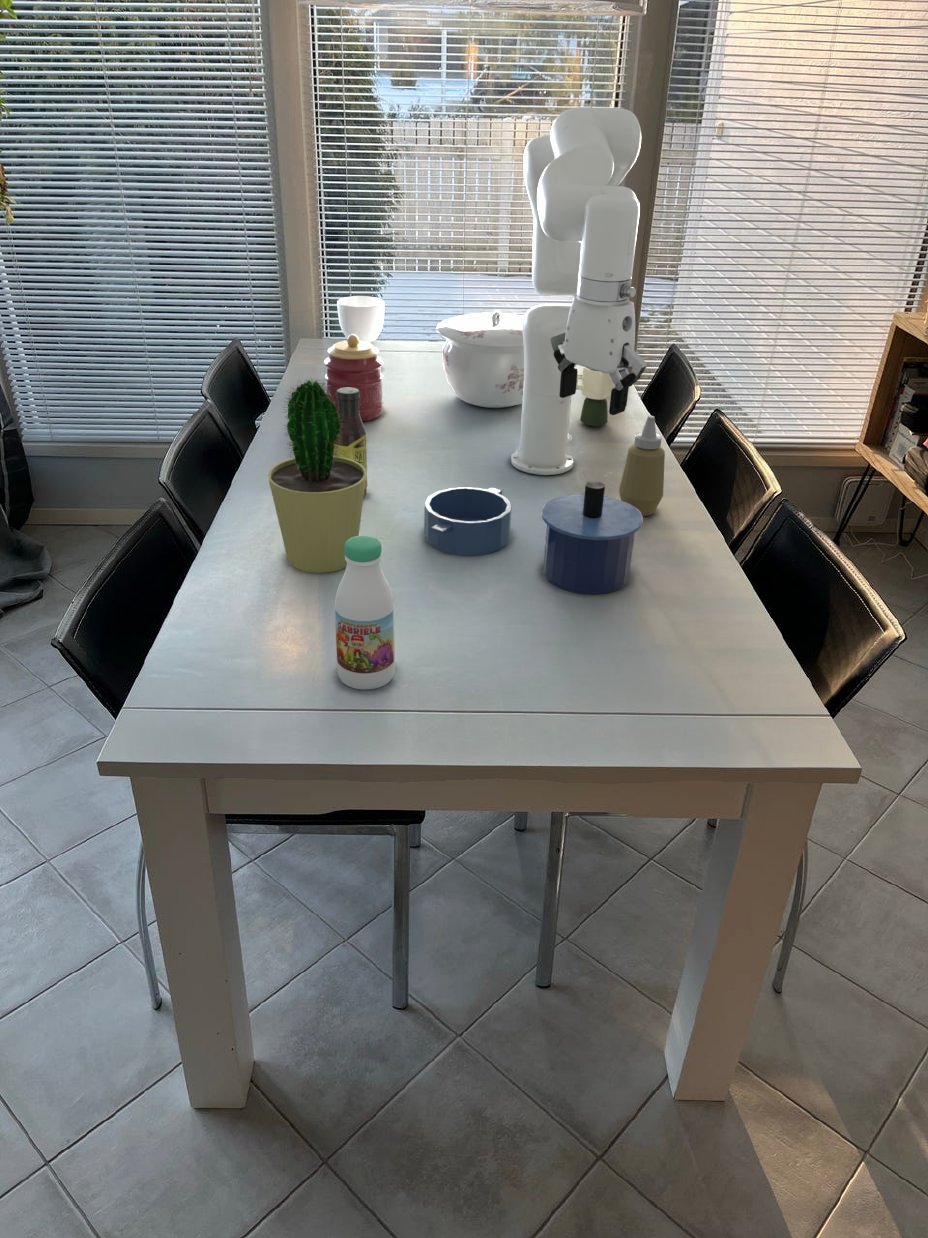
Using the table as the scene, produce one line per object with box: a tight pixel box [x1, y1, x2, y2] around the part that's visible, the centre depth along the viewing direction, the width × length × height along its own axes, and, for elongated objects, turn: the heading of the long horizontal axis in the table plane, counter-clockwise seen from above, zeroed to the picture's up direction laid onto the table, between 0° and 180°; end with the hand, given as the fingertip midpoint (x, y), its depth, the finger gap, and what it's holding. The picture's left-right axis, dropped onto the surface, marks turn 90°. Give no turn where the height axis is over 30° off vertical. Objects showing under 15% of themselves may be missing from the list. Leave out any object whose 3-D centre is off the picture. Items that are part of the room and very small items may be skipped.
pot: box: [542, 524, 636, 595], centre depth 154 cm, size 14×14×10 cm
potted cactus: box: [267, 378, 368, 574], centre depth 151 cm, size 15×15×30 cm
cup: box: [336, 295, 385, 344], centre depth 243 cm, size 12×12×17 cm
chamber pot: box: [435, 310, 525, 409], centre depth 225 cm, size 28×28×21 cm
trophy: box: [576, 366, 622, 427], centre depth 214 cm, size 11×7×13 cm, turn 95°
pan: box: [423, 486, 513, 556], centre depth 166 cm, size 15×20×6 cm
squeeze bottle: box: [618, 415, 666, 517], centre depth 174 cm, size 8×8×18 cm
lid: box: [541, 480, 644, 540], centre depth 150 cm, size 16×16×6 cm
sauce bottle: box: [333, 387, 368, 497], centre depth 176 cm, size 7×6×20 cm
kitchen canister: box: [323, 335, 385, 422], centre depth 215 cm, size 13×13×18 cm
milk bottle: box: [334, 535, 396, 691], centre depth 125 cm, size 8×8×20 cm
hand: (591, 404), depth 147 cm, fingers open, 9 cm apart
